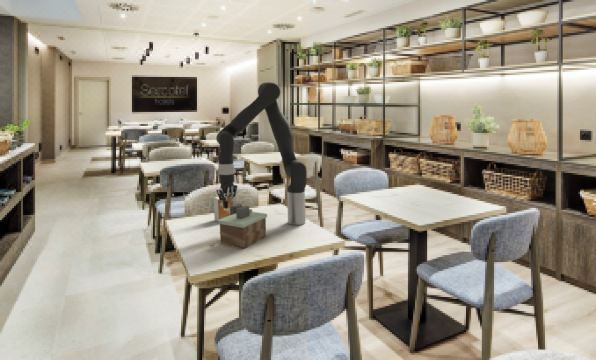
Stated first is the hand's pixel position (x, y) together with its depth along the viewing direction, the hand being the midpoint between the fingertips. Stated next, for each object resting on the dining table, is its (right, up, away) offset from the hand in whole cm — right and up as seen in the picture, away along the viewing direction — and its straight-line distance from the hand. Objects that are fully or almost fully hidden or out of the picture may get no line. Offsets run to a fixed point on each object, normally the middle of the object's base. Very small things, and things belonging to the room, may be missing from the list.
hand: (228, 207), depth 208 cm
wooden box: (+8, -15, -8) cm, 19 cm away
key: (+5, -2, -3) cm, 6 cm away
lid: (+9, -5, -11) cm, 15 cm away
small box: (-6, -9, +24) cm, 27 cm away
